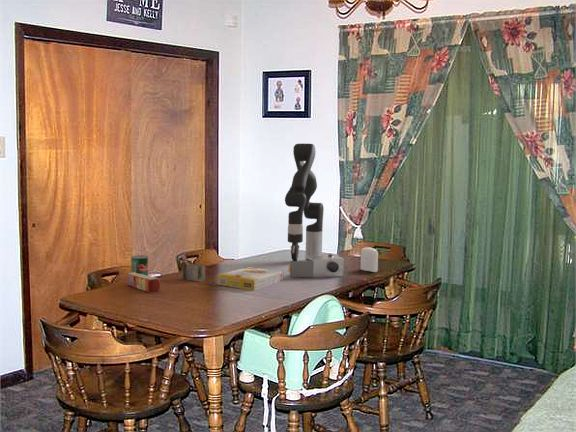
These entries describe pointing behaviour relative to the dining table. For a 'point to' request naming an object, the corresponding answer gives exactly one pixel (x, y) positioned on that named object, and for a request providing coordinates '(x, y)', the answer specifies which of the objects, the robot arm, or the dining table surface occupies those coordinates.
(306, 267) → the side door
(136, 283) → the snack package
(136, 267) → the canned tomato
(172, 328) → the dining table surface
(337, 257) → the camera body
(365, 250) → the photo printer
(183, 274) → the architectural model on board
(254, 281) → the cereal box
